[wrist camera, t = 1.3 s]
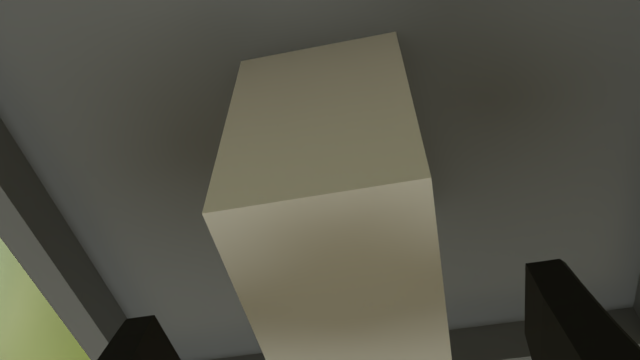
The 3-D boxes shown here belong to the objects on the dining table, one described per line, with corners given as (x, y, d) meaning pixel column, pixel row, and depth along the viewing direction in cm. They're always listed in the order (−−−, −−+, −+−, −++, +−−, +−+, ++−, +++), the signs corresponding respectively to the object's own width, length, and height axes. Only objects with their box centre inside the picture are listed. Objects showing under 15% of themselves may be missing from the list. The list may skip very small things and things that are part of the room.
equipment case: (607, 517, 32) (622, 557, 30) (259, 544, 35) (256, 583, 33) (821, -467, 10) (920, -507, 8) (-218, -180, 12) (-300, -168, 11)
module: (419, 211, 18) (454, 383, 13) (289, 231, 18) (278, 402, 14) (395, 31, 14) (431, 177, 10) (235, 62, 15) (193, 214, 10)
